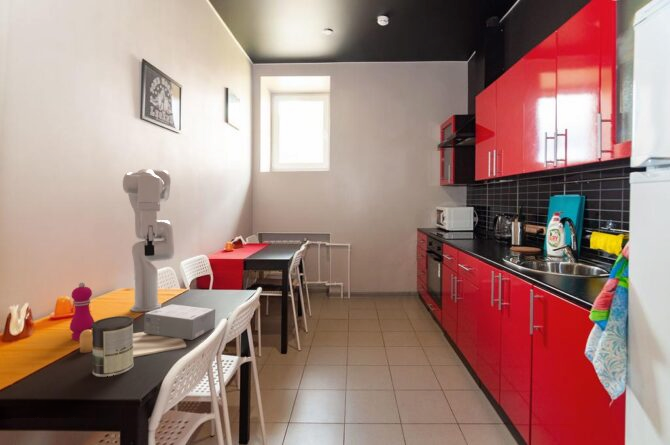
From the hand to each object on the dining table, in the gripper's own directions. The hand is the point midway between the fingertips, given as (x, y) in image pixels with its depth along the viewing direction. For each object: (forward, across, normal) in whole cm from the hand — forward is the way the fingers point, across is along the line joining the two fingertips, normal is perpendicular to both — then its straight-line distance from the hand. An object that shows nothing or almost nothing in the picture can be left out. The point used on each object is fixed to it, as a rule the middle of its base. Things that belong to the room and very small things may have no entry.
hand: (149, 255), depth 134 cm
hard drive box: (+24, +1, +3) cm, 25 cm away
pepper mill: (+29, -4, -21) cm, 37 cm away
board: (+29, +14, 0) cm, 32 cm away
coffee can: (+29, +31, -12) cm, 44 cm away
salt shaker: (+29, +11, -19) cm, 36 cm away
